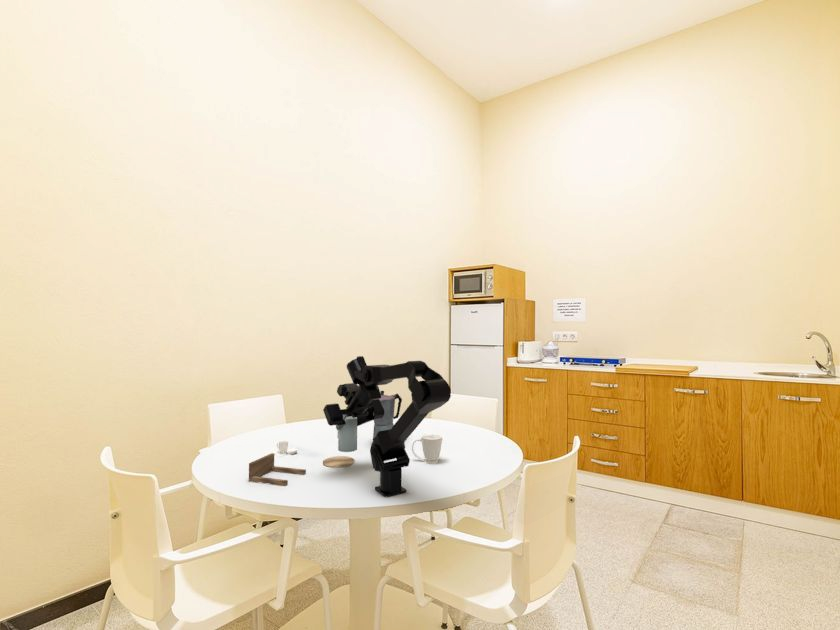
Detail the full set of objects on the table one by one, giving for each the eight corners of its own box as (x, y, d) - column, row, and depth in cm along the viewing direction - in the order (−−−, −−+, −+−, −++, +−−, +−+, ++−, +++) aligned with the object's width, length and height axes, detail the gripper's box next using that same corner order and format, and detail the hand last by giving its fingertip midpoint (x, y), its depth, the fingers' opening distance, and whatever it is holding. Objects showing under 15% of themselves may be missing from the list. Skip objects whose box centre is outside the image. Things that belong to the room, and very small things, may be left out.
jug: (360, 449, 131) (360, 419, 131) (343, 453, 127) (343, 421, 128) (347, 443, 138) (347, 414, 138) (330, 446, 134) (331, 416, 134)
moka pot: (360, 445, 156) (361, 390, 157) (392, 437, 167) (392, 387, 168) (376, 450, 149) (377, 393, 150) (408, 442, 160) (408, 389, 161)
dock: (305, 473, 125) (306, 456, 125) (285, 485, 115) (285, 467, 116) (271, 469, 129) (271, 453, 129) (248, 481, 119) (249, 463, 119)
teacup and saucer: (301, 454, 146) (301, 442, 146) (280, 459, 140) (280, 446, 141) (287, 449, 152) (288, 437, 152) (267, 454, 146) (267, 442, 146)
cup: (441, 465, 133) (441, 439, 133) (410, 464, 134) (410, 438, 135) (443, 458, 140) (443, 434, 140) (413, 457, 141) (413, 433, 142)
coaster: (359, 464, 134) (359, 462, 134) (329, 469, 129) (329, 467, 129) (347, 456, 143) (347, 454, 143) (318, 460, 137) (318, 459, 137)
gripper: (380, 373, 135) (362, 403, 143) (326, 377, 123) (310, 409, 132) (394, 401, 128) (374, 431, 136) (338, 408, 117) (321, 440, 125)
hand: (345, 427), depth 133 cm, fingers closed on jug, 6 cm apart
